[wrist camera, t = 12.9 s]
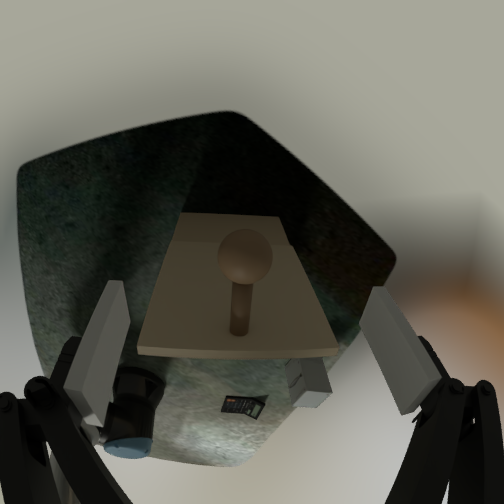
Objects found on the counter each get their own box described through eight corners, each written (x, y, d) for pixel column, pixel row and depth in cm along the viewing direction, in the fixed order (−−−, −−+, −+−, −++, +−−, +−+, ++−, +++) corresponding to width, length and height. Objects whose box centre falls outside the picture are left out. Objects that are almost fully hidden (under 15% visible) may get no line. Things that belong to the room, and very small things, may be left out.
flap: (138, 354, 22) (120, 241, 18) (171, 247, 40) (170, 175, 36) (336, 355, 24) (369, 251, 20) (291, 252, 42) (301, 182, 38)
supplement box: (297, 348, 71) (307, 390, 60) (321, 353, 73) (334, 393, 62) (283, 366, 74) (291, 406, 63) (306, 370, 76) (316, 408, 65)
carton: (183, 295, 59) (177, 338, 49) (180, 212, 50) (169, 246, 40) (266, 297, 61) (274, 340, 51) (278, 216, 52) (292, 251, 42)
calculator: (226, 395, 80) (226, 403, 77) (264, 397, 82) (265, 405, 79) (220, 409, 84) (221, 417, 81) (256, 412, 86) (257, 419, 84)
